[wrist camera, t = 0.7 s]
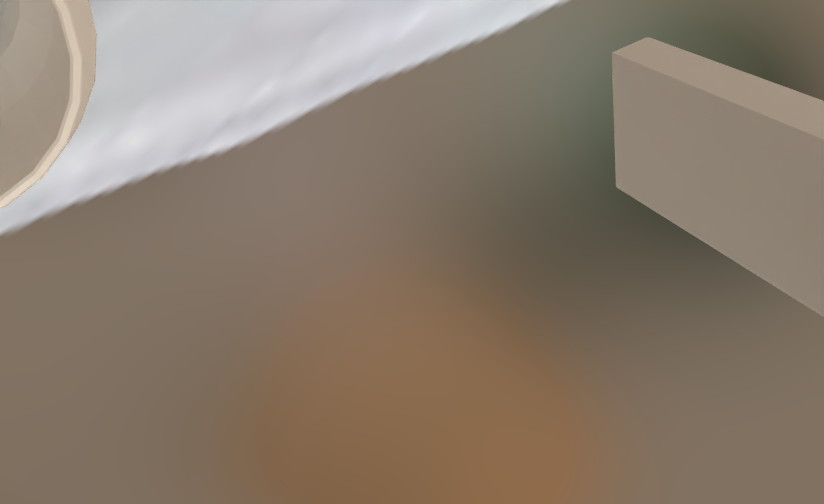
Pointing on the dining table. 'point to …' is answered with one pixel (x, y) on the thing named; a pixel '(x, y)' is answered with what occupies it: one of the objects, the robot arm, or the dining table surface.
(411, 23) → the dining table surface
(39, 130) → the cup
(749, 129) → the robot arm
